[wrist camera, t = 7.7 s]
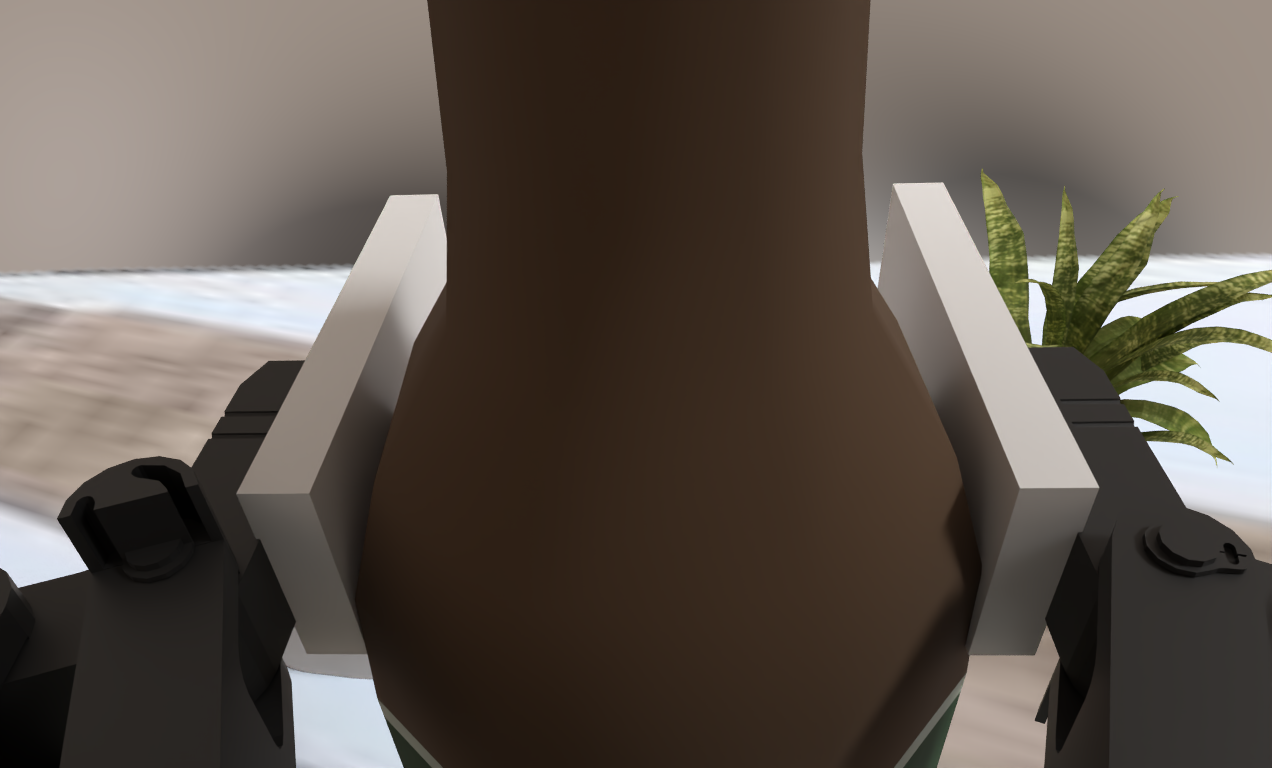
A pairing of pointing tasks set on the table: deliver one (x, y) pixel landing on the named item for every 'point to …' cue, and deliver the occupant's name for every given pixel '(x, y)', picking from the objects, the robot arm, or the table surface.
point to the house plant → (1082, 308)
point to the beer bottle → (662, 413)
